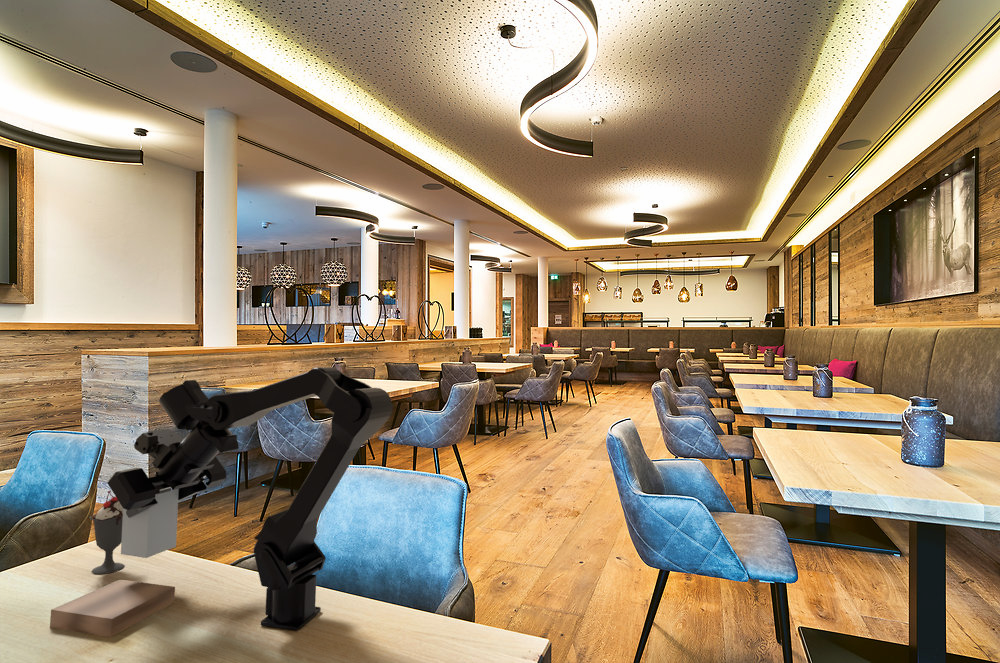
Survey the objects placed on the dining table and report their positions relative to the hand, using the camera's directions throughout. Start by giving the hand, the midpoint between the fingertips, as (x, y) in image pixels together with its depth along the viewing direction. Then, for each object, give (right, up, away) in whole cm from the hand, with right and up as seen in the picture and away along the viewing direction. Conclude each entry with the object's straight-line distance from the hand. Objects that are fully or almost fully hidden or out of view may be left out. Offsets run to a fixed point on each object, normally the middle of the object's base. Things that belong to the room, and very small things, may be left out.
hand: (144, 510), depth 90 cm
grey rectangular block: (+1, -7, -1) cm, 7 cm away
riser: (+2, -13, -9) cm, 16 cm away
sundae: (-12, -14, +7) cm, 20 cm away
